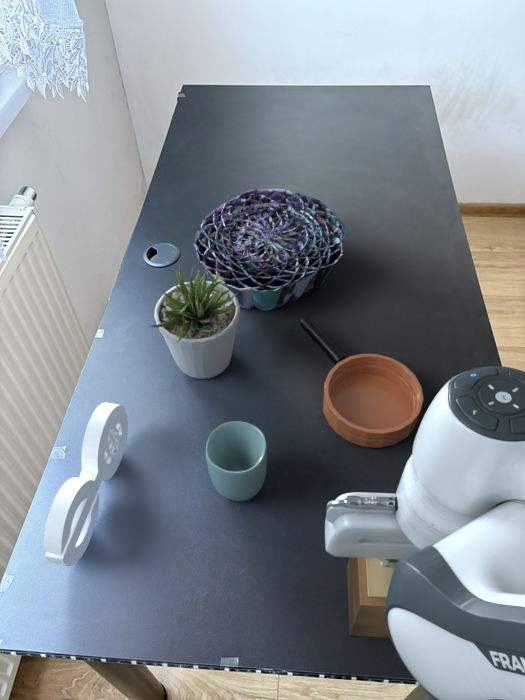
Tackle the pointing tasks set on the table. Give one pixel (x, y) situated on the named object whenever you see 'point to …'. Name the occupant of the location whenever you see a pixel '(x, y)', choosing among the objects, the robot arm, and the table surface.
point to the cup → (237, 460)
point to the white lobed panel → (86, 486)
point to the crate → (367, 596)
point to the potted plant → (199, 325)
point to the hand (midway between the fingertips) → (418, 561)
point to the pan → (372, 400)
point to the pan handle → (322, 340)
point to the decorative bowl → (270, 246)
